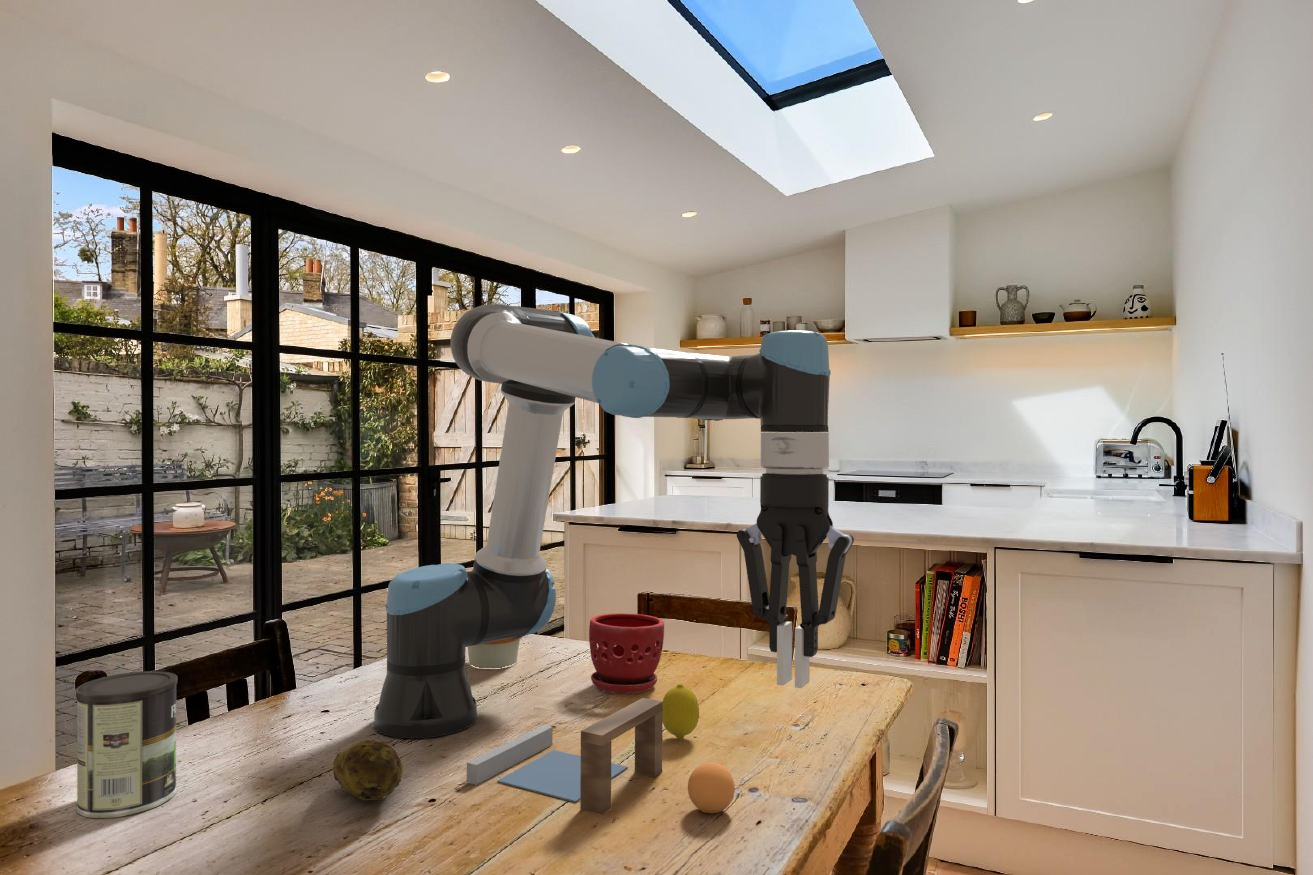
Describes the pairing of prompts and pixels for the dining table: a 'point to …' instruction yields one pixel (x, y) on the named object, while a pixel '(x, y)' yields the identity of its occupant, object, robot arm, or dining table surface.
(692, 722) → the lemon
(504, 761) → the stopper
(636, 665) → the plant pot
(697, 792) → the ball
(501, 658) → the reusable coffee cup
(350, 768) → the potato
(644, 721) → the bridge
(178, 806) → the dining table surface
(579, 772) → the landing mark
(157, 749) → the coffee can
